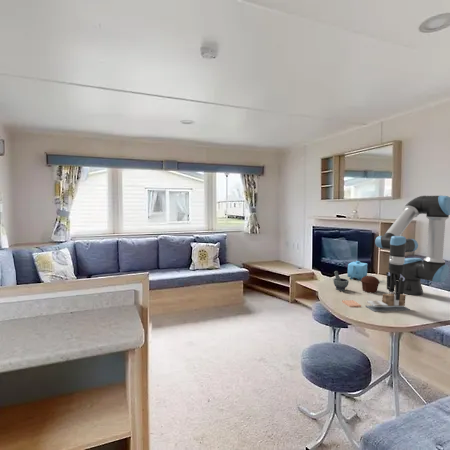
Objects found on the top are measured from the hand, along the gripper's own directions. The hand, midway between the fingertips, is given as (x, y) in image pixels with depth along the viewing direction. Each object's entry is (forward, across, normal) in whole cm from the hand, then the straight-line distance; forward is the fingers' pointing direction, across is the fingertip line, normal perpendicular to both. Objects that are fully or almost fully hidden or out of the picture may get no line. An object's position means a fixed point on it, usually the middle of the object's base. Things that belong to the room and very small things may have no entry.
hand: (393, 304), depth 177 cm
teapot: (+2, -65, +17) cm, 67 cm away
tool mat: (+2, 0, -4) cm, 4 cm away
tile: (+2, -8, -17) cm, 19 cm away
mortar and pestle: (+3, -39, -12) cm, 40 cm away
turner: (0, 0, -4) cm, 4 cm away
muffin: (+2, -34, +7) cm, 34 cm away
